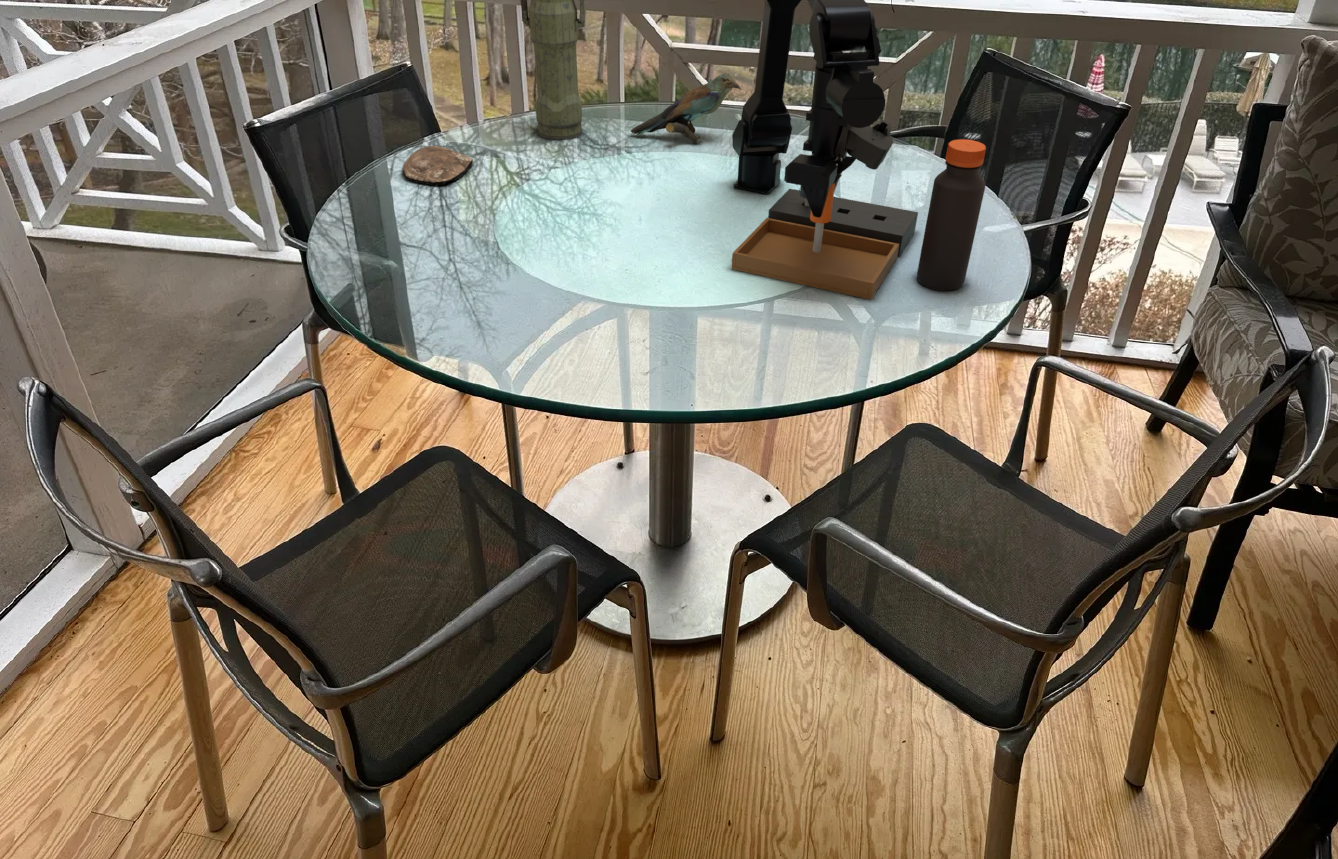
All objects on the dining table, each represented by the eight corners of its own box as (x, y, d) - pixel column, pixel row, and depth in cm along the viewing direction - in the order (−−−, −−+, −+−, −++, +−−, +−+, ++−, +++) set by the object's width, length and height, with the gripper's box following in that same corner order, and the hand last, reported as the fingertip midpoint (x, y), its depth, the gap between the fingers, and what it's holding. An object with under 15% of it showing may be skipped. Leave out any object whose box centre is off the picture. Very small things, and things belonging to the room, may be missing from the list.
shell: (388, 180, 165) (385, 160, 163) (423, 155, 175) (420, 136, 173) (448, 187, 162) (445, 167, 160) (479, 162, 172) (477, 143, 170)
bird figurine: (624, 141, 180) (679, 50, 169) (633, 125, 188) (686, 37, 177) (682, 180, 182) (741, 93, 172) (688, 163, 190) (744, 79, 180)
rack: (899, 257, 142) (902, 235, 140) (767, 230, 150) (768, 209, 148) (914, 232, 150) (918, 211, 147) (787, 208, 157) (789, 188, 155)
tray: (731, 269, 139) (732, 252, 137) (765, 232, 149) (766, 217, 147) (871, 299, 131) (873, 283, 130) (896, 259, 142) (899, 243, 140)
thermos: (532, 124, 190) (517, -70, 169) (590, 125, 190) (583, -69, 169) (527, 139, 182) (511, -61, 162) (588, 140, 183) (580, -61, 162)
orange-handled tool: (803, 252, 138) (811, 181, 132) (810, 244, 140) (818, 174, 134) (823, 256, 137) (831, 184, 131) (829, 248, 139) (838, 177, 133)
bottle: (973, 288, 134) (1003, 151, 122) (930, 294, 133) (957, 156, 121) (948, 267, 140) (976, 134, 128) (907, 273, 138) (931, 138, 126)
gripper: (872, 133, 116) (856, 248, 126) (909, 92, 130) (892, 199, 139) (788, 120, 120) (778, 233, 130) (832, 81, 134) (820, 186, 143)
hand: (820, 212), depth 135 cm, fingers closed on orange-handled tool, 3 cm apart
